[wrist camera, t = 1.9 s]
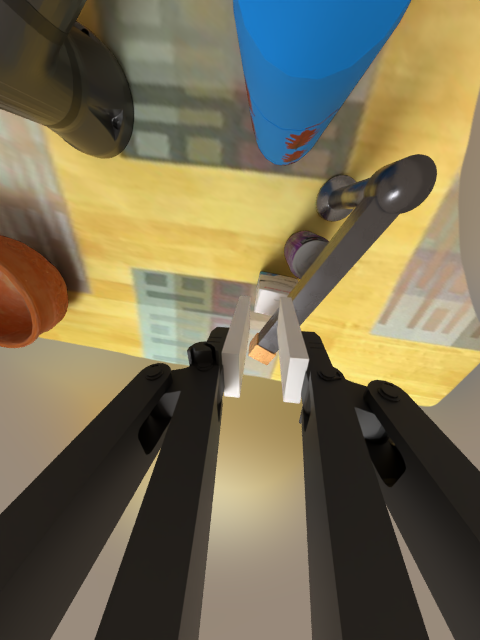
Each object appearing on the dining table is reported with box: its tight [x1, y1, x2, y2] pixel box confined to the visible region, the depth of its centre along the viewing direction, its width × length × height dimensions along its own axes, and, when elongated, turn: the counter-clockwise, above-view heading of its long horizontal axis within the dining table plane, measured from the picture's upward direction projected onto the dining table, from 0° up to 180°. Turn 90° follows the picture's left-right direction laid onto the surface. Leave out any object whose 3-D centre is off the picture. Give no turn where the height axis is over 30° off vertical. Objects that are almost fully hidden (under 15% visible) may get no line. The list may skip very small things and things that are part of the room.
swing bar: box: [248, 154, 437, 365], centre depth 24 cm, size 28×4×4 cm, turn 150°
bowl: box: [0, 235, 68, 348], centre depth 44 cm, size 25×25×15 cm
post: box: [316, 175, 370, 221], centre depth 28 cm, size 7×7×16 cm
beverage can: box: [284, 231, 329, 279], centre depth 35 cm, size 7×7×12 cm
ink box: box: [254, 271, 298, 316], centre depth 39 cm, size 8×5×12 cm, turn 80°
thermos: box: [233, 0, 411, 165], centre depth 20 cm, size 11×11×25 cm
